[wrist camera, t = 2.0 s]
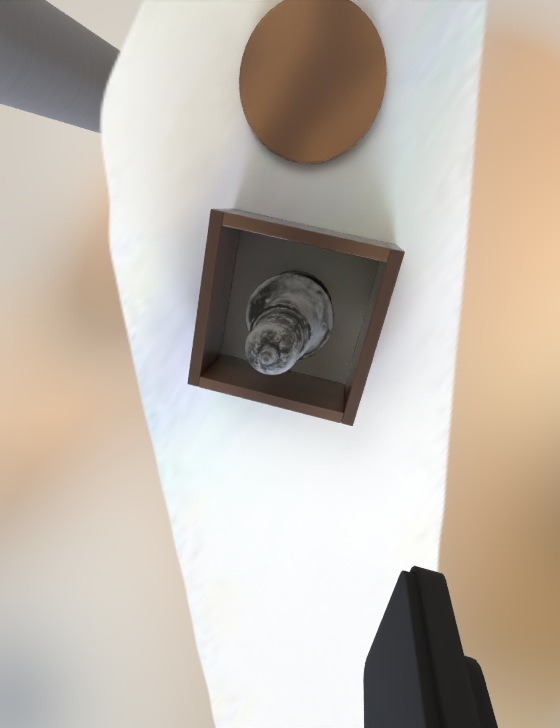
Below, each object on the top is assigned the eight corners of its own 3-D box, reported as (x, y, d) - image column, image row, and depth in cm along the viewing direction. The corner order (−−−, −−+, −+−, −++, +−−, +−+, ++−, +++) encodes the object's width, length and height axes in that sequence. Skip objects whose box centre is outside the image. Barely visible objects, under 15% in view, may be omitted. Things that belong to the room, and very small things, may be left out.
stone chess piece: (344, 334, 32) (340, 402, 21) (270, 353, 33) (229, 426, 22) (323, 256, 30) (307, 284, 19) (246, 279, 32) (188, 317, 21)
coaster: (231, 148, 29) (228, 147, 28) (254, -17, 26) (252, -22, 25) (363, 176, 28) (363, 175, 28) (404, 10, 25) (405, 5, 24)
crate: (209, 360, 34) (187, 384, 30) (232, 208, 30) (210, 208, 26) (352, 396, 34) (352, 426, 29) (396, 244, 29) (405, 251, 25)
